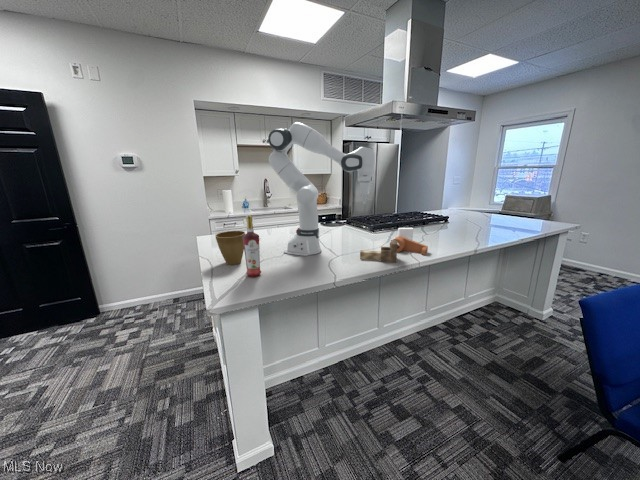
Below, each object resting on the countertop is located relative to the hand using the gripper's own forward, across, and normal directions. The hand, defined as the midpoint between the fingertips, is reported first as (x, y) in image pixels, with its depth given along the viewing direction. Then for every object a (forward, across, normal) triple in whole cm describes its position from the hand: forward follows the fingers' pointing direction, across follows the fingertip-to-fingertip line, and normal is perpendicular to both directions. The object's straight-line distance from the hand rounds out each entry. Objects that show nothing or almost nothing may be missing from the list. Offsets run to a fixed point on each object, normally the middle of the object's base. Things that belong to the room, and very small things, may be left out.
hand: (364, 202), depth 148 cm
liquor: (+29, +45, -48) cm, 72 cm away
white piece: (+29, -16, +24) cm, 41 cm away
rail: (+29, +11, +6) cm, 32 cm away
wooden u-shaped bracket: (+29, +11, +14) cm, 34 cm away
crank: (+30, -6, +26) cm, 40 cm away
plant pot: (+29, +31, -67) cm, 79 cm away
